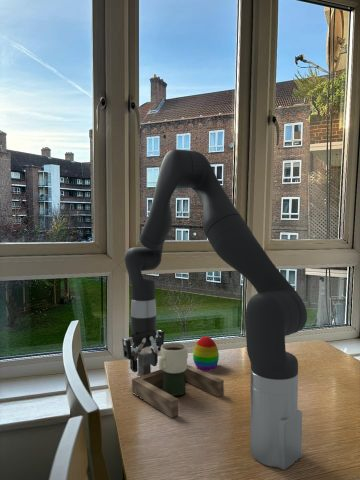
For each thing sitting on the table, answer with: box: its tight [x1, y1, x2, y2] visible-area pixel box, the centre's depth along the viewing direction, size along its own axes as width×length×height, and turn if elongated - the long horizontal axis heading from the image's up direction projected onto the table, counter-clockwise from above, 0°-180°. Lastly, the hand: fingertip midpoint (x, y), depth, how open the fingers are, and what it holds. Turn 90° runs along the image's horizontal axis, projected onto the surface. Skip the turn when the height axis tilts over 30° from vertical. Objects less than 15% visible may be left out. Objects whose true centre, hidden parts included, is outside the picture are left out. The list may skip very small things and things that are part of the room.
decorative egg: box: [192, 335, 220, 372], centre depth 122 cm, size 8×8×10 cm
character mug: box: [158, 341, 189, 397], centre depth 105 cm, size 11×7×13 cm, turn 138°
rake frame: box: [131, 350, 225, 419], centre depth 107 cm, size 26×18×7 cm
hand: (144, 368), depth 116 cm, fingers open, 6 cm apart
